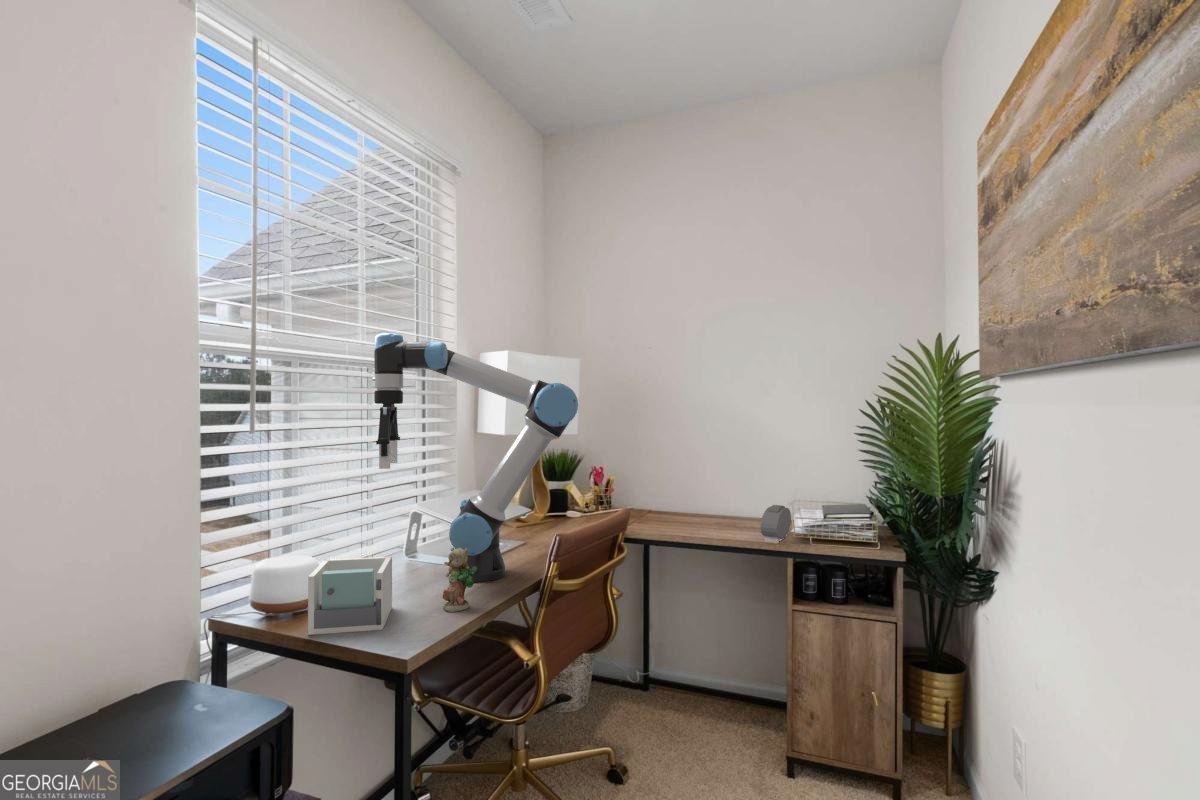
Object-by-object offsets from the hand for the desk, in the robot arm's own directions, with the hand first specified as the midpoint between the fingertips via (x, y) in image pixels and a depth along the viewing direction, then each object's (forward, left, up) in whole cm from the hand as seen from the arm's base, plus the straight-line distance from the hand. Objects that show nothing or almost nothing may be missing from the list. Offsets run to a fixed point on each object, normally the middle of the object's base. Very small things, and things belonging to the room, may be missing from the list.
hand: (388, 465), depth 166 cm
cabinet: (+5, +22, -35) cm, 41 cm away
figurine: (-20, +18, -35) cm, 44 cm away
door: (+5, +27, -34) cm, 43 cm away
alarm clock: (-136, -36, -35) cm, 145 cm away
